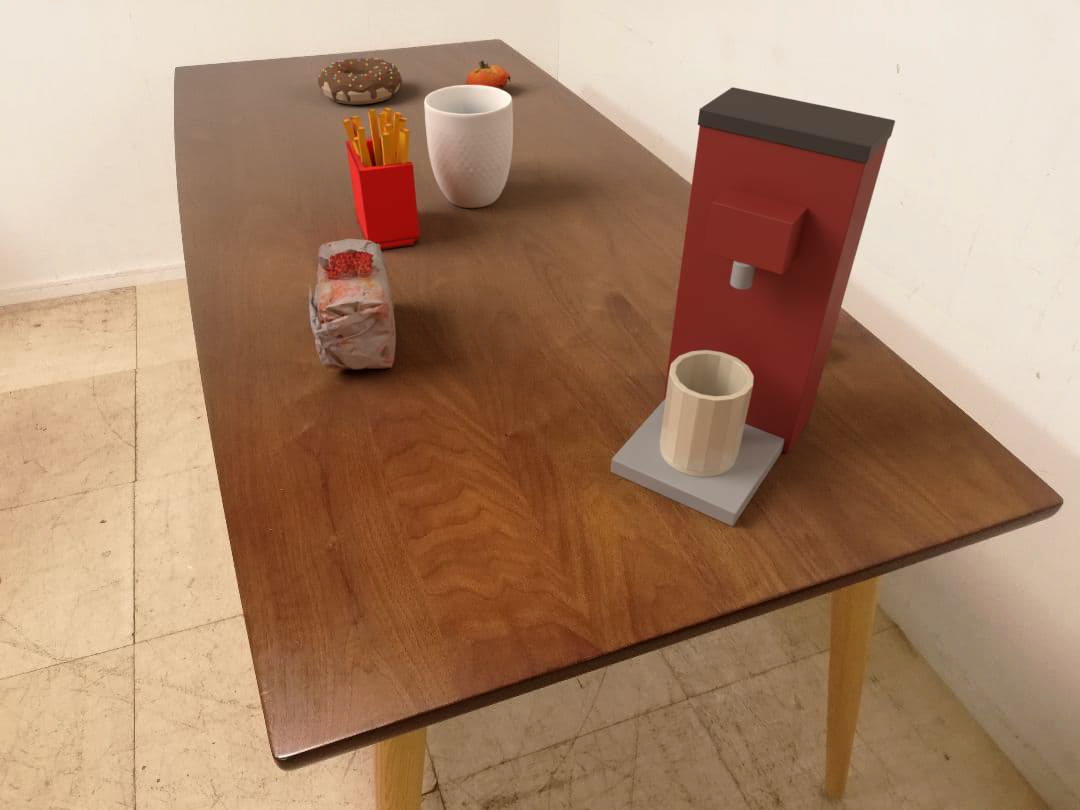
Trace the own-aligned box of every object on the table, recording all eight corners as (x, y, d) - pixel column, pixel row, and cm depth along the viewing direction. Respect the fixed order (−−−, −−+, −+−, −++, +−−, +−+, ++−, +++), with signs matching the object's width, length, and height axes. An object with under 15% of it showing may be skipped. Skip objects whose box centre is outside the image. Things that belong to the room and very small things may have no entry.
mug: (445, 167, 117) (438, 73, 109) (521, 171, 116) (521, 76, 108) (423, 214, 105) (414, 112, 97) (508, 218, 105) (506, 116, 96)
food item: (405, 375, 79) (394, 286, 72) (320, 386, 77) (301, 296, 71) (391, 301, 89) (381, 217, 83) (316, 310, 87) (300, 225, 81)
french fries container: (409, 212, 106) (398, 102, 97) (425, 244, 99) (415, 130, 90) (354, 219, 104) (338, 109, 95) (367, 253, 97) (351, 137, 88)
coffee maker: (739, 530, 63) (817, 204, 46) (603, 469, 69) (628, 155, 52) (811, 419, 74) (895, 120, 57) (688, 373, 79) (732, 86, 62)
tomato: (500, 71, 146) (505, 48, 139) (515, 106, 145) (520, 84, 138) (458, 84, 144) (460, 60, 137) (472, 119, 144) (475, 97, 136)
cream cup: (739, 432, 70) (755, 356, 65) (734, 483, 65) (751, 405, 60) (664, 420, 71) (674, 345, 66) (654, 469, 67) (664, 392, 61)
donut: (347, 115, 133) (343, 83, 130) (307, 93, 141) (302, 63, 138) (421, 96, 140) (419, 66, 137) (379, 76, 148) (376, 47, 145)
